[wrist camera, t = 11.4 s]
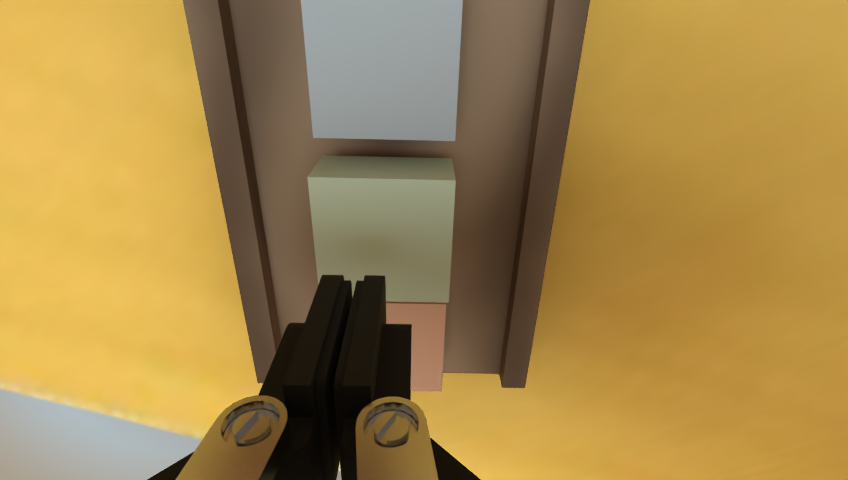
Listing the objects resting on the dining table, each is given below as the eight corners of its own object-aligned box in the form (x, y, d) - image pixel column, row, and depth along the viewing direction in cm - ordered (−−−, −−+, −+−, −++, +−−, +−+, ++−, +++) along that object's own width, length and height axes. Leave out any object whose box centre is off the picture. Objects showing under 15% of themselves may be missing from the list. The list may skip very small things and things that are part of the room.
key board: (580, -61, 17) (601, -70, 15) (517, 358, 26) (524, 387, 24) (197, -71, 16) (166, -81, 15) (270, 354, 26) (257, 382, 24)
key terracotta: (444, 273, 21) (446, 304, 19) (440, 355, 24) (441, 391, 21) (338, 271, 21) (328, 302, 19) (344, 353, 24) (335, 389, 21)
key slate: (458, -19, 16) (464, -23, 14) (451, 124, 18) (454, 141, 16) (316, -23, 16) (298, -27, 14) (327, 121, 18) (313, 137, 16)
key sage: (451, 158, 18) (455, 180, 15) (445, 269, 20) (448, 302, 18) (322, 155, 17) (307, 177, 15) (331, 267, 20) (319, 300, 18)
